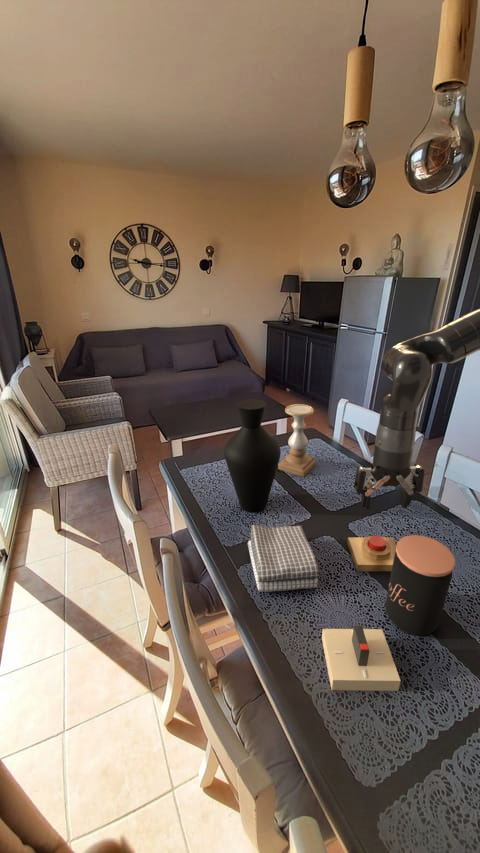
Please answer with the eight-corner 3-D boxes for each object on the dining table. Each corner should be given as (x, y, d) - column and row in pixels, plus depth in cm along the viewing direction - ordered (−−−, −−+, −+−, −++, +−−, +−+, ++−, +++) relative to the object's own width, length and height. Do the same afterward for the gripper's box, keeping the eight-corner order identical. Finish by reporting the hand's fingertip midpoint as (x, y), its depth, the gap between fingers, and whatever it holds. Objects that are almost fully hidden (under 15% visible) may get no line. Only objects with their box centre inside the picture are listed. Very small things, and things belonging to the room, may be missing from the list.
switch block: (391, 543, 100) (393, 531, 98) (405, 571, 90) (407, 559, 89) (347, 543, 100) (348, 532, 98) (356, 571, 91) (358, 559, 89)
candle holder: (277, 469, 137) (278, 410, 128) (290, 457, 146) (292, 401, 136) (303, 477, 132) (306, 416, 122) (316, 464, 140) (319, 406, 130)
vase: (240, 528, 107) (235, 419, 93) (219, 497, 121) (212, 400, 107) (289, 512, 113) (293, 408, 99) (264, 485, 128) (264, 391, 113)
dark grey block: (351, 640, 71) (353, 624, 69) (359, 640, 71) (362, 625, 69) (358, 665, 67) (360, 650, 65) (367, 666, 67) (369, 650, 65)
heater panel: (380, 638, 74) (382, 628, 73) (398, 691, 65) (400, 680, 64) (321, 638, 75) (322, 628, 74) (331, 690, 66) (332, 679, 64)
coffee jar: (377, 595, 84) (388, 534, 77) (424, 595, 84) (439, 534, 76) (394, 638, 74) (408, 573, 67) (447, 639, 74) (467, 573, 67)
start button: (381, 540, 95) (382, 535, 95) (386, 551, 92) (387, 546, 91) (366, 540, 96) (367, 535, 95) (371, 551, 92) (371, 546, 91)
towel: (257, 598, 84) (257, 573, 81) (247, 543, 101) (246, 521, 98) (320, 590, 86) (322, 566, 83) (299, 538, 102) (301, 515, 99)
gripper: (420, 434, 79) (408, 496, 86) (355, 436, 79) (348, 498, 86) (437, 450, 72) (423, 516, 79) (365, 452, 72) (358, 518, 79)
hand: (384, 506), depth 82 cm, fingers open, 8 cm apart
